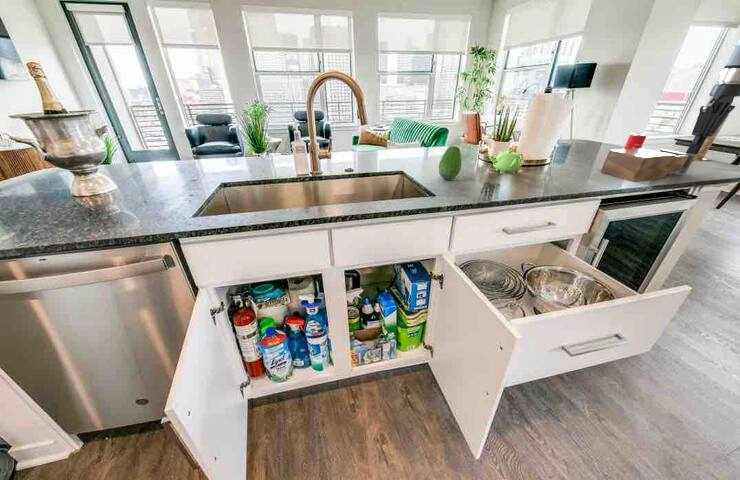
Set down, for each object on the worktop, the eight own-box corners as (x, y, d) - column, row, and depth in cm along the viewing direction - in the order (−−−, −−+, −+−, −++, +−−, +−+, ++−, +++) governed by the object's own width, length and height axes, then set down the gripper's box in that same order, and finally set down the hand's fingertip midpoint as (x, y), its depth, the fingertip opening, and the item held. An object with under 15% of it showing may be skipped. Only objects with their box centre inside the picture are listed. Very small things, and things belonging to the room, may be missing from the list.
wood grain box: (629, 169, 110) (639, 148, 106) (664, 178, 100) (676, 155, 95) (600, 172, 107) (609, 150, 103) (632, 181, 97) (644, 157, 93)
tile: (694, 157, 127) (695, 156, 126) (712, 161, 120) (712, 159, 120) (680, 157, 126) (681, 156, 126) (697, 161, 120) (698, 160, 120)
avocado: (459, 183, 97) (464, 148, 91) (436, 181, 99) (440, 147, 93) (459, 176, 103) (464, 143, 97) (438, 175, 105) (441, 143, 99)
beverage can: (631, 163, 119) (645, 133, 113) (634, 165, 115) (648, 135, 109) (616, 161, 121) (629, 132, 115) (618, 164, 117) (631, 134, 111)
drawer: (661, 165, 112) (670, 148, 109) (695, 172, 102) (705, 154, 99) (626, 168, 109) (634, 150, 105) (657, 176, 99) (667, 157, 96)
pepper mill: (701, 157, 123) (729, 109, 114) (704, 159, 121) (733, 110, 111) (689, 156, 125) (715, 109, 116) (691, 158, 123) (718, 110, 113)
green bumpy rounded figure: (525, 171, 109) (531, 149, 105) (513, 177, 102) (519, 154, 98) (497, 166, 116) (501, 145, 112) (485, 171, 109) (489, 150, 105)
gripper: (730, 83, 98) (692, 150, 110) (703, 83, 95) (667, 152, 107) (760, 83, 91) (716, 155, 103) (732, 83, 89) (690, 156, 101)
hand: (691, 153), depth 105 cm, fingers closed
